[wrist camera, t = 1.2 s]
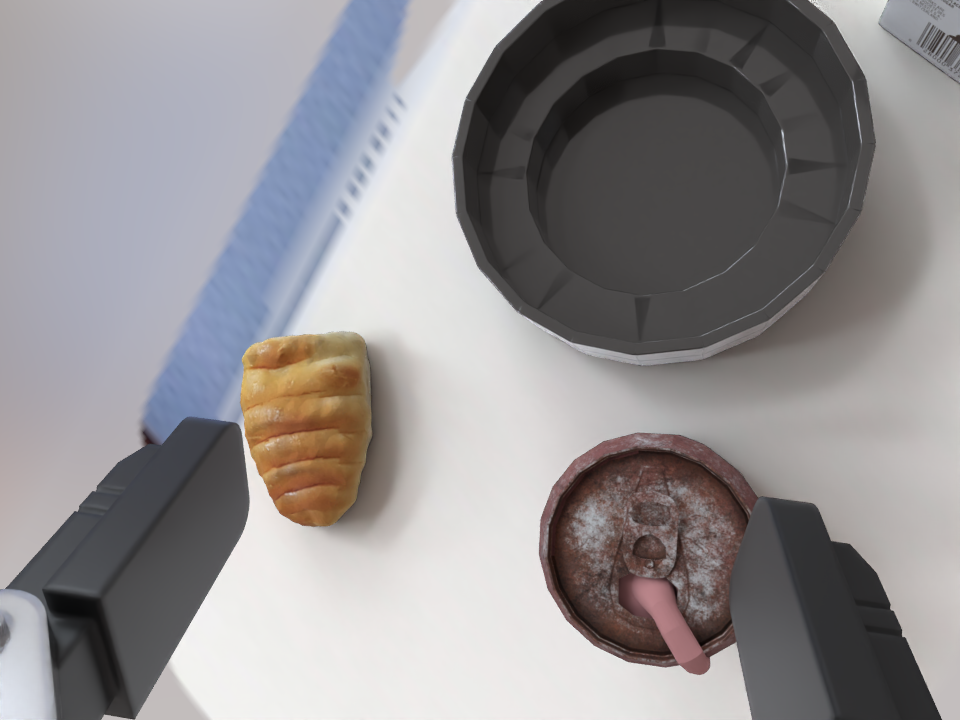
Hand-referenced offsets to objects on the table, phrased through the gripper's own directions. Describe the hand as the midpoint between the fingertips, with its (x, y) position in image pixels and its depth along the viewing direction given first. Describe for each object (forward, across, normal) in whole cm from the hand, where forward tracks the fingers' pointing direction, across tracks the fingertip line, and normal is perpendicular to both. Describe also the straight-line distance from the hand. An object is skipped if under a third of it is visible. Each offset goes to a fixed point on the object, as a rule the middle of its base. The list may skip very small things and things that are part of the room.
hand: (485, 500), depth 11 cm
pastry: (+21, +10, +14) cm, 27 cm away
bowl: (+25, -5, +2) cm, 25 cm away
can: (+17, -7, +14) cm, 23 cm away
